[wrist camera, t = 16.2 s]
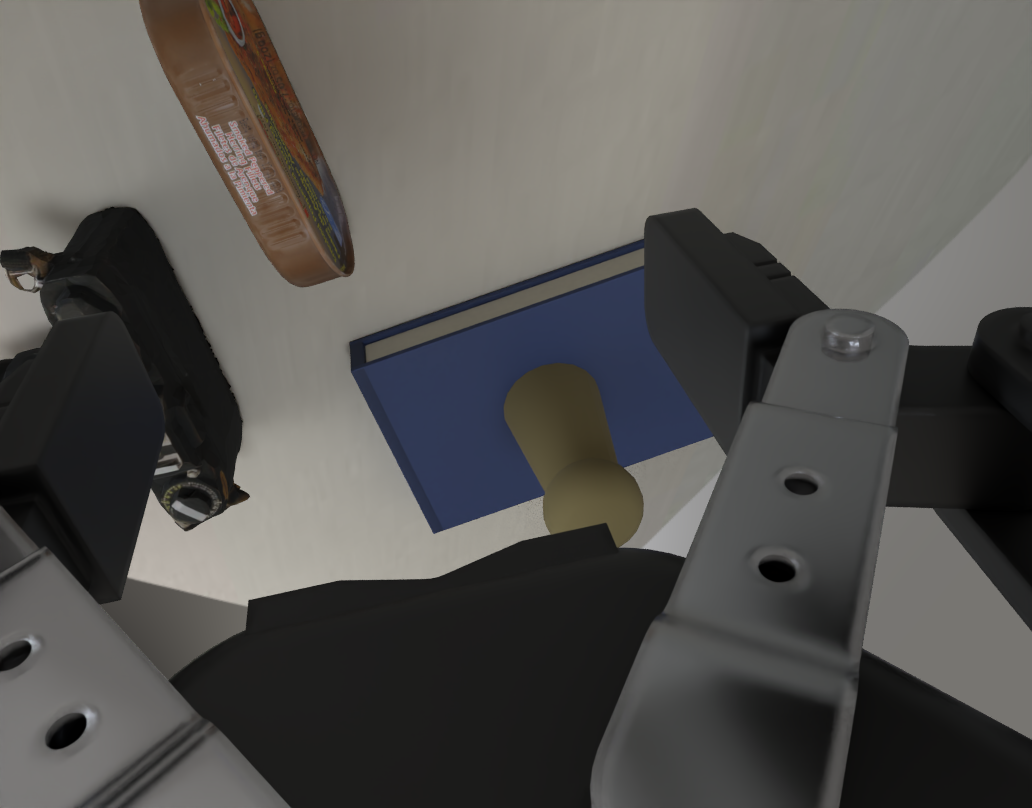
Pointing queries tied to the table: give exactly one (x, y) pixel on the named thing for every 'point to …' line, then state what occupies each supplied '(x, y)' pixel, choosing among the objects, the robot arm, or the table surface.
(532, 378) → the cork
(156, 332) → the film camera
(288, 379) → the table surface
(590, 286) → the book
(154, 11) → the tin
